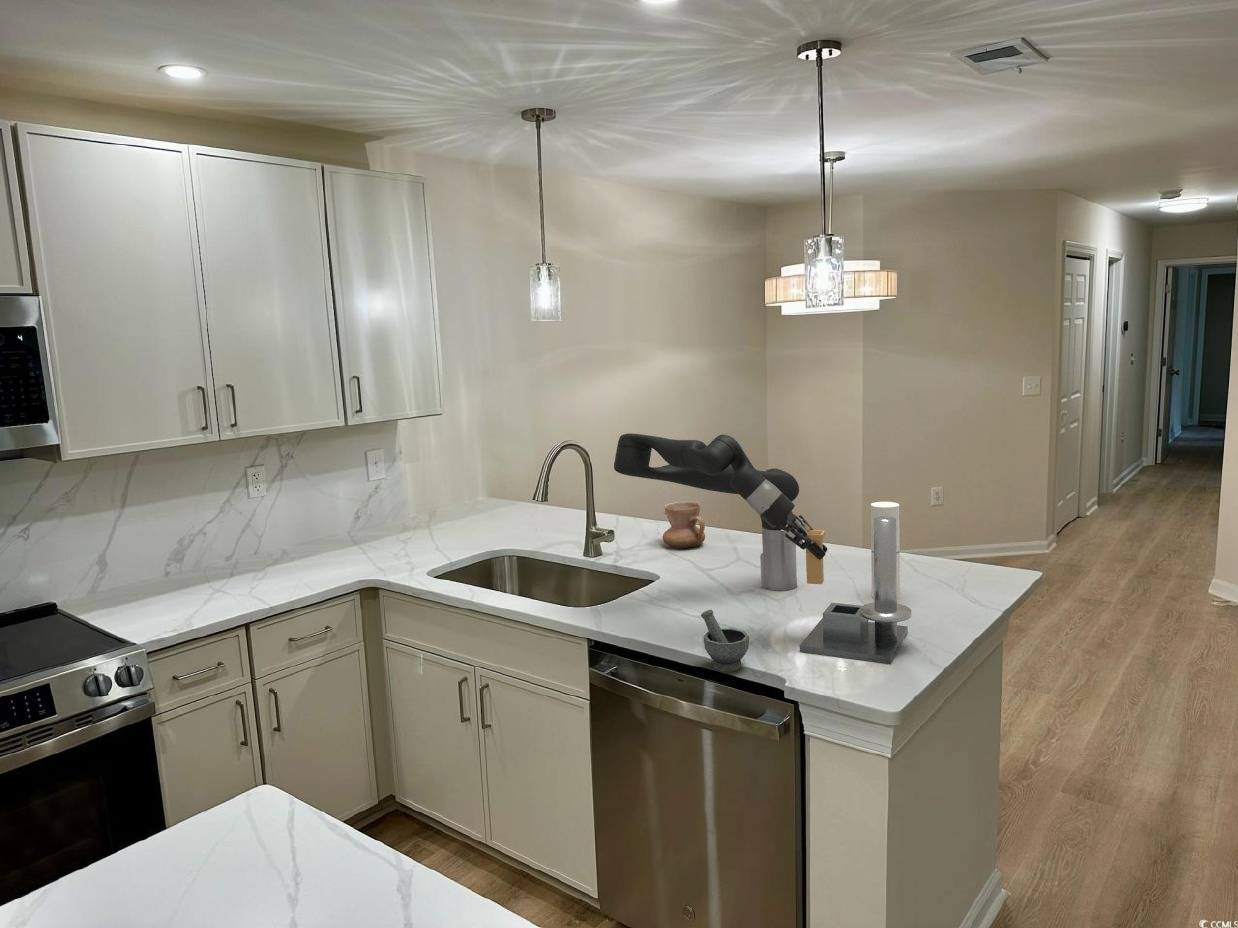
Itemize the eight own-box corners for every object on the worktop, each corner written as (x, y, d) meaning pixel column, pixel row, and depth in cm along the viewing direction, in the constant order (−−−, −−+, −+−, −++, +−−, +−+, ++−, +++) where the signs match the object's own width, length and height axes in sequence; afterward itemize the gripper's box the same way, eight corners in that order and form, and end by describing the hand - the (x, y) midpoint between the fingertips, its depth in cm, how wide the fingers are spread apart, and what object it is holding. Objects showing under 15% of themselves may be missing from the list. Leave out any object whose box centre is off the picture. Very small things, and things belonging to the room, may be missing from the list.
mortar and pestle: (758, 663, 188) (756, 611, 186) (733, 678, 181) (731, 624, 179) (716, 652, 196) (714, 602, 194) (691, 666, 189) (689, 614, 187)
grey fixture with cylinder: (799, 651, 194) (796, 524, 189) (823, 622, 211) (820, 505, 206) (902, 665, 183) (902, 531, 178) (918, 633, 200) (918, 510, 195)
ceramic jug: (651, 545, 294) (649, 505, 291) (683, 537, 302) (681, 498, 300) (687, 554, 280) (685, 512, 277) (719, 546, 288) (717, 504, 286)
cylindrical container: (881, 602, 223) (880, 508, 219) (866, 594, 230) (865, 503, 226) (905, 598, 225) (905, 505, 221) (889, 590, 232) (889, 500, 228)
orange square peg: (804, 583, 200) (803, 534, 198) (807, 578, 204) (805, 530, 201) (823, 584, 198) (822, 534, 196) (825, 579, 202) (824, 530, 200)
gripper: (764, 506, 209) (816, 556, 207) (753, 521, 196) (808, 574, 194) (785, 485, 206) (838, 536, 204) (775, 498, 193) (832, 552, 191)
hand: (823, 554), depth 199 cm, fingers closed on orange square peg, 3 cm apart
